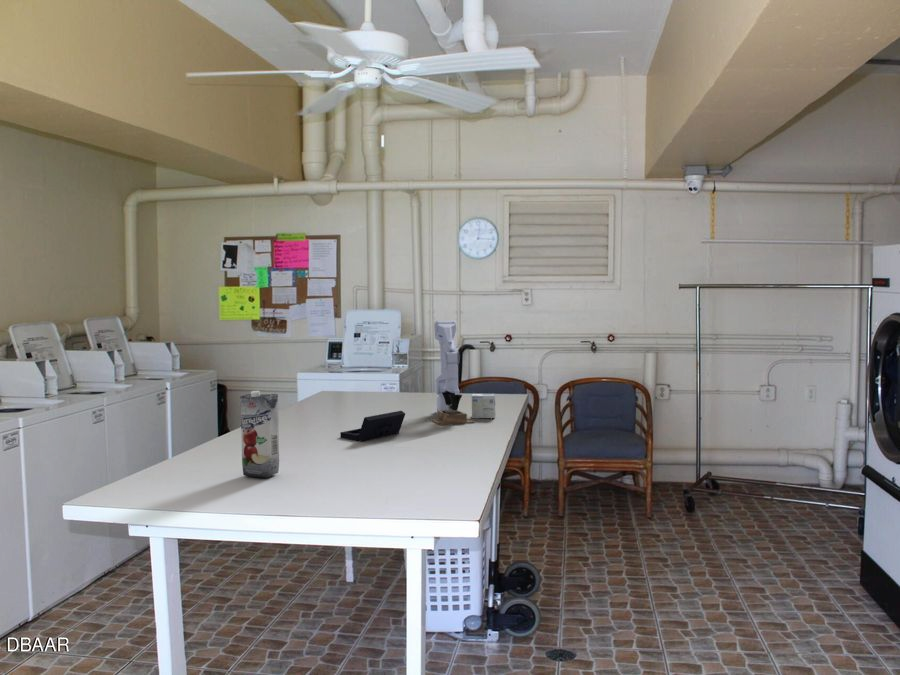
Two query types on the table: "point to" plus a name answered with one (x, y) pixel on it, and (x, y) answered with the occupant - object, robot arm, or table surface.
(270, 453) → the juice carton
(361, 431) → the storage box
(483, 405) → the light bulb box
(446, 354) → the robot arm
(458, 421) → the walnut well
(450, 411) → the steel block
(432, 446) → the table surface
